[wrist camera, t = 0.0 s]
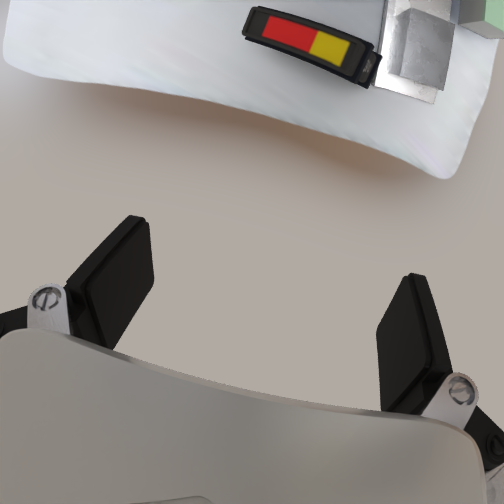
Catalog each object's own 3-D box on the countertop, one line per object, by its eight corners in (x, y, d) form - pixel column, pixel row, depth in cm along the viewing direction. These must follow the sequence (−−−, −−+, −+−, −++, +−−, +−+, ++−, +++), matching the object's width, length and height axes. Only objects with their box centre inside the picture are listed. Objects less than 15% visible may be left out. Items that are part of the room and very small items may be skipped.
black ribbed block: (388, 99, 31) (349, 81, 20) (297, 56, 35) (222, 33, 24) (401, 73, 29) (368, 39, 18) (308, 32, 33) (236, -1, 22)
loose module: (461, -13, 21) (487, -23, 15) (490, 1, 20) (519, -4, 14) (458, 24, 24) (484, 20, 18) (486, 38, 24) (516, 38, 18)
